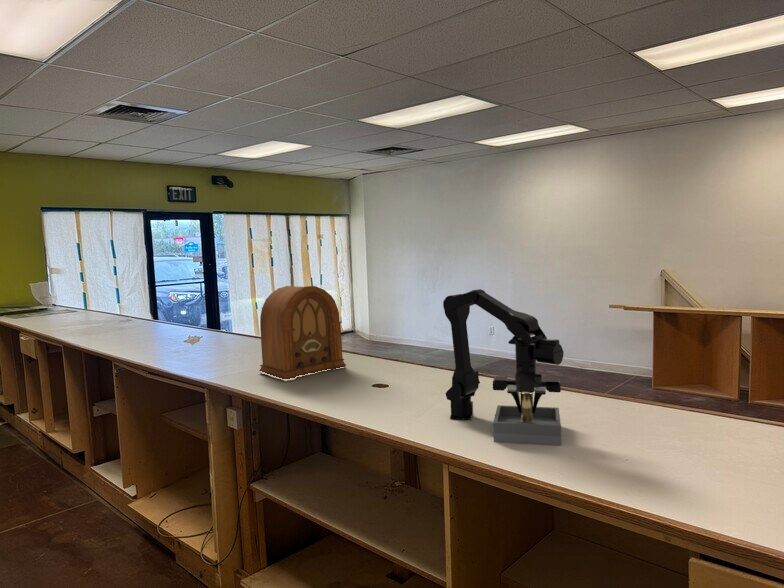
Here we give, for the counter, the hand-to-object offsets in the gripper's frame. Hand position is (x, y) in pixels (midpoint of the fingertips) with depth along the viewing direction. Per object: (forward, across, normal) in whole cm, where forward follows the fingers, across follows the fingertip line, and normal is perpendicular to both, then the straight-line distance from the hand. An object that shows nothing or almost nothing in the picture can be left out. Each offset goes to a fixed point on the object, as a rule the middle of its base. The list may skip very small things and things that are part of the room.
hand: (526, 413), depth 150 cm
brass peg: (+2, 0, 0) cm, 2 cm away
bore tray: (+6, 0, 0) cm, 6 cm away
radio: (+7, -103, +66) cm, 122 cm away
